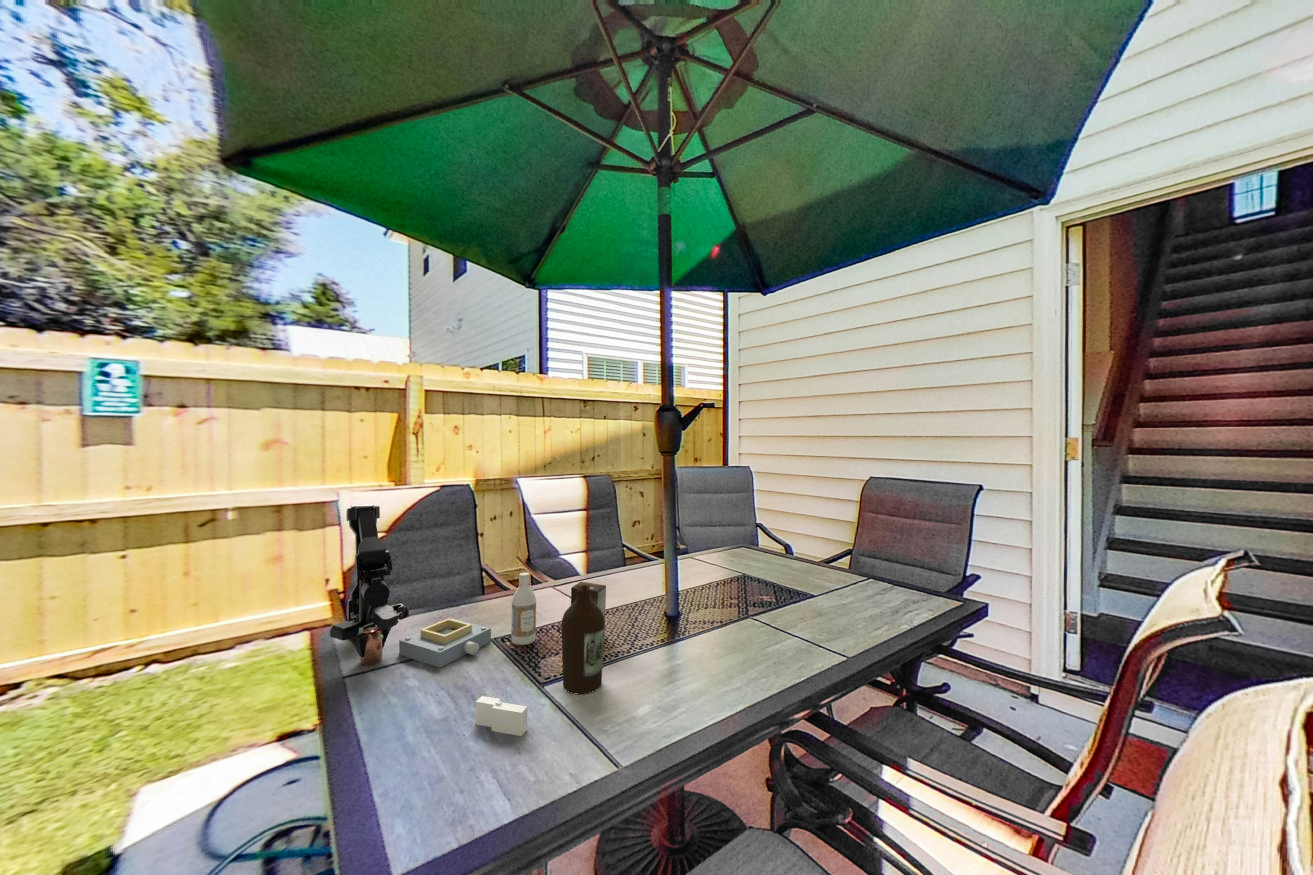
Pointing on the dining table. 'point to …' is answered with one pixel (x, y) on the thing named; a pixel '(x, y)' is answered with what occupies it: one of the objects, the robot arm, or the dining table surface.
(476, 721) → the white stepped block
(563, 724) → the dining table surface
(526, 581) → the bath foam
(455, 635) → the grey plate with frame
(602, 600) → the coffee box
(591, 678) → the olive oil
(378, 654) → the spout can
